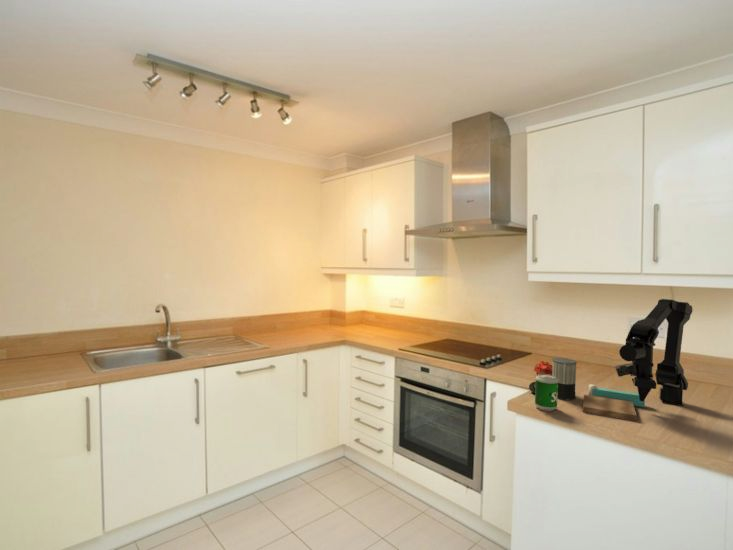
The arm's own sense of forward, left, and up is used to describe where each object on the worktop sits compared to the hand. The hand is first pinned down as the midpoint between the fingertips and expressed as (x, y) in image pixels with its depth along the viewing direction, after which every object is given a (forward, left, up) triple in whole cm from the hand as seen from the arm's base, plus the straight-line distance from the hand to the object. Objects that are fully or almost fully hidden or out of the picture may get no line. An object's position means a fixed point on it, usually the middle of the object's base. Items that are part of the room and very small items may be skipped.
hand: (641, 401), depth 145 cm
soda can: (+31, +16, -4) cm, 35 cm away
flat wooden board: (+11, +5, -4) cm, 12 cm away
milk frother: (+30, -3, -4) cm, 30 cm away
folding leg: (+8, -6, -4) cm, 11 cm away
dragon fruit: (+35, -28, -4) cm, 45 cm away
